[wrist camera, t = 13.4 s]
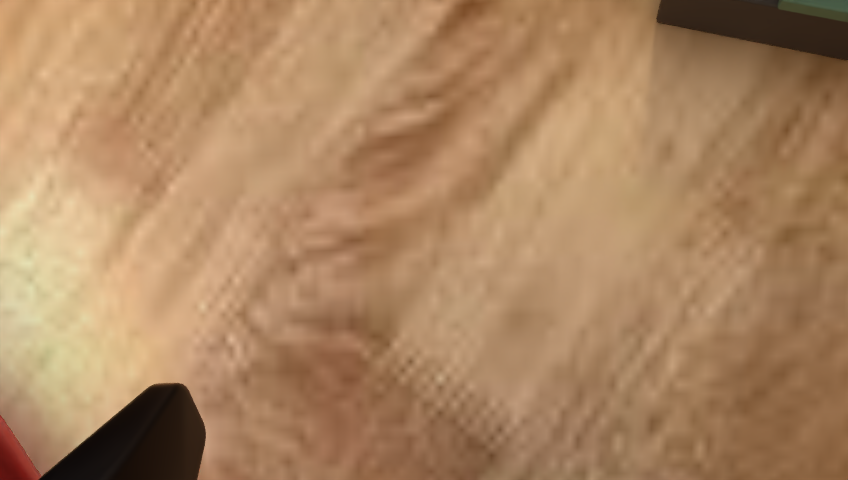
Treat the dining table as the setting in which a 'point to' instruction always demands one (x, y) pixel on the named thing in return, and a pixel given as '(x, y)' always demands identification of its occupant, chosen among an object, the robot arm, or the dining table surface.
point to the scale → (767, 22)
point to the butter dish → (14, 457)
